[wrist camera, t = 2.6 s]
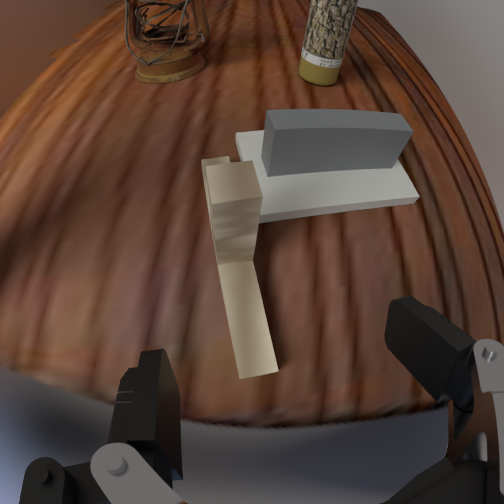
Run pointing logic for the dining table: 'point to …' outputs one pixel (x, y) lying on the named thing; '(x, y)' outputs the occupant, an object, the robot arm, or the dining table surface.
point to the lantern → (167, 42)
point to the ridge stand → (328, 161)
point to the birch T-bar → (239, 259)
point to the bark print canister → (326, 40)
